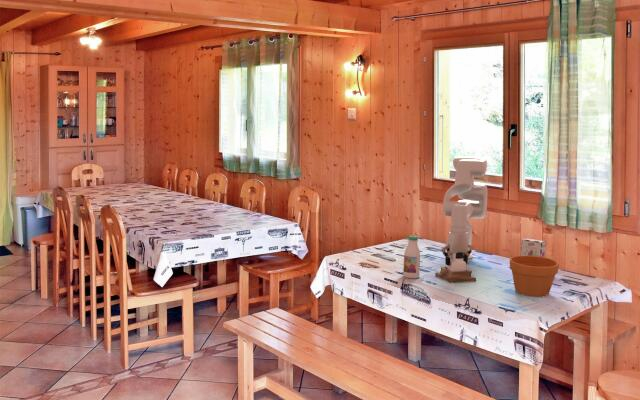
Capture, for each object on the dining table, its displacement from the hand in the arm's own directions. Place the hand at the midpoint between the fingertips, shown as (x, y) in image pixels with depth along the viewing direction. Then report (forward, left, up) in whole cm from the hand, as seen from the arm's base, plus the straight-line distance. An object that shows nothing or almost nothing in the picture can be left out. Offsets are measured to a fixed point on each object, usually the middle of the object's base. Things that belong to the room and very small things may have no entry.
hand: (456, 264), depth 311 cm
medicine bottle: (0, 0, -6) cm, 6 cm away
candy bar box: (-2, +47, -7) cm, 48 cm away
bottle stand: (0, 0, -7) cm, 7 cm away
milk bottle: (-8, -20, -7) cm, 23 cm away
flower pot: (+31, +20, -7) cm, 38 cm away
